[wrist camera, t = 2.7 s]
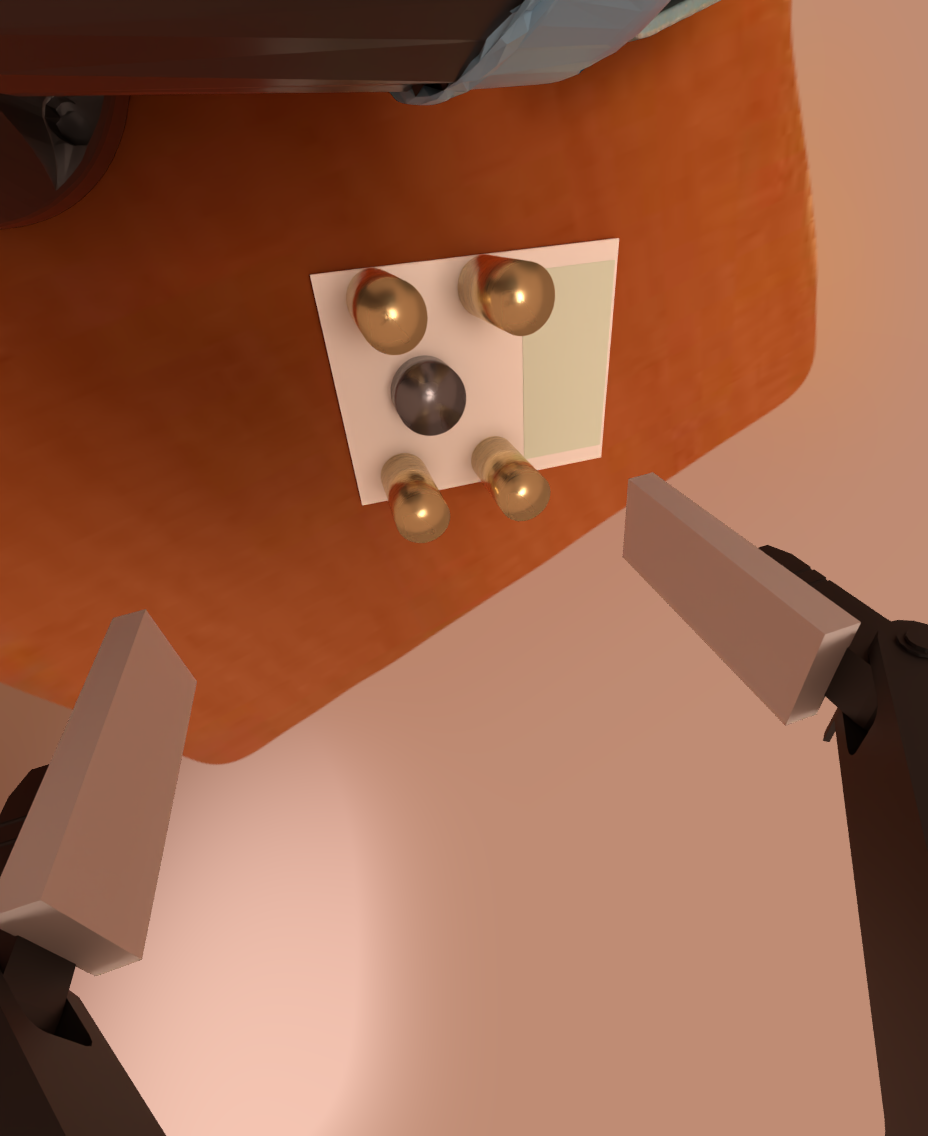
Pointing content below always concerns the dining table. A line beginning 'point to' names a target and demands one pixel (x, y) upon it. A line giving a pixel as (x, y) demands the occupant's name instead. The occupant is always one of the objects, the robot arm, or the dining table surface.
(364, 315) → the cylinder
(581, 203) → the dining table surface
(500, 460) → the cylinder
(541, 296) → the cylinder
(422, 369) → the dark metal puck
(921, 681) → the robot arm
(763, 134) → the dining table surface
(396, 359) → the board
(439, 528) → the cylinder
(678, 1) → the flower pot
